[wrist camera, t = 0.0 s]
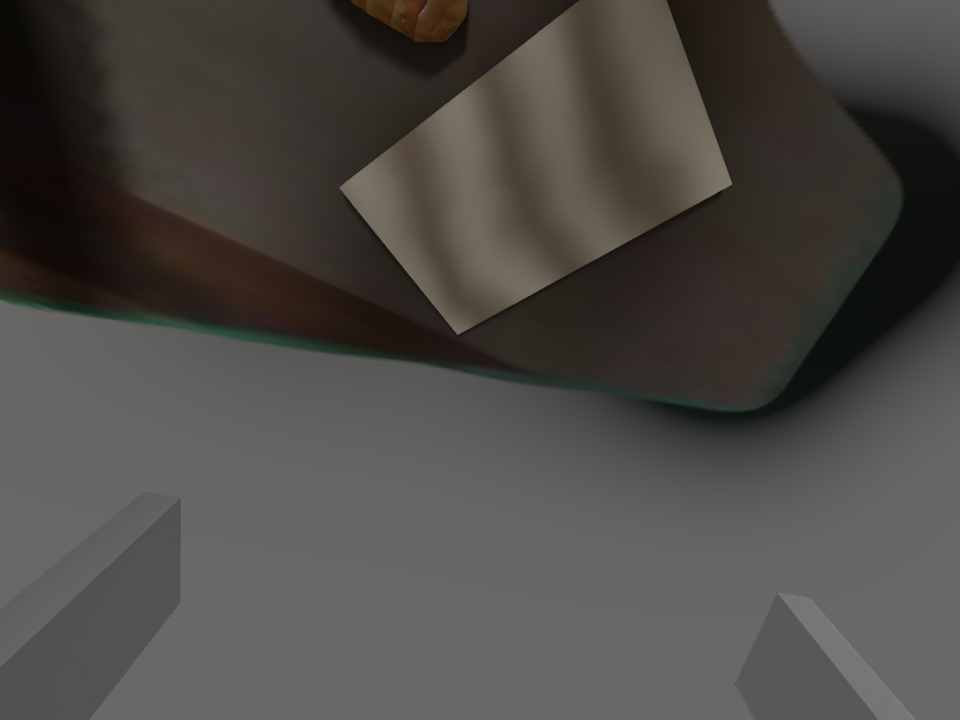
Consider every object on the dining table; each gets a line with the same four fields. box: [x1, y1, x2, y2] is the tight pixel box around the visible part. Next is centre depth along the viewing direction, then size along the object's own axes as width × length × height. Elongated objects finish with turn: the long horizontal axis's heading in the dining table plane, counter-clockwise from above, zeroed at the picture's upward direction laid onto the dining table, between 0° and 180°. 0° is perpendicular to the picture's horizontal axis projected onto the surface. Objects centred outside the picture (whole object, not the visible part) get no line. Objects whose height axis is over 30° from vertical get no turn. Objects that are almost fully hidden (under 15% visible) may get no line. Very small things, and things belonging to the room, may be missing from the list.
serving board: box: [340, 0, 732, 335], centre depth 31 cm, size 22×14×1 cm, turn 124°
